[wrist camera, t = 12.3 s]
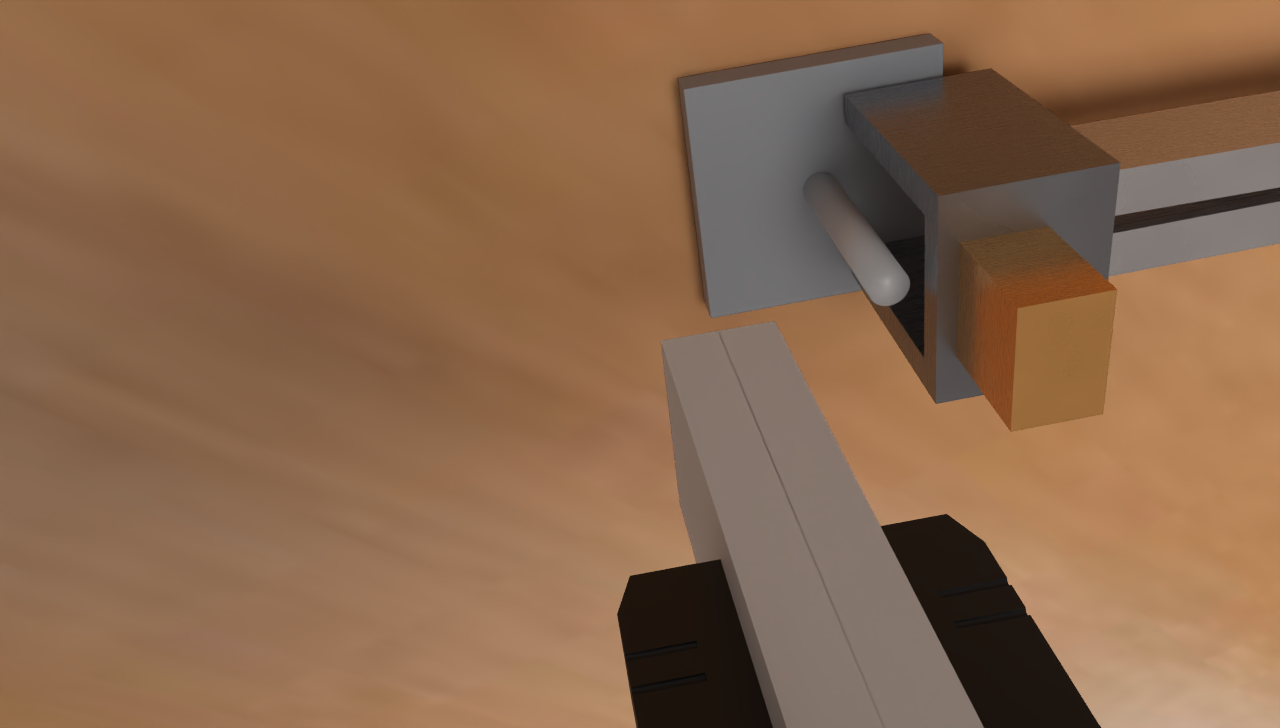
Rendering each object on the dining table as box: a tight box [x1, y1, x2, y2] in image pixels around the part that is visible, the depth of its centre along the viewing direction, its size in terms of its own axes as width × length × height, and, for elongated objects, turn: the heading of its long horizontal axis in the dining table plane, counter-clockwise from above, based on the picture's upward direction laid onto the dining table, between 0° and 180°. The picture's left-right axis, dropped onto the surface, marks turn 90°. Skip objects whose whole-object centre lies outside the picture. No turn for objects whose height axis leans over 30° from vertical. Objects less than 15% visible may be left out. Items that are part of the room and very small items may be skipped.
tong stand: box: [678, 33, 943, 318], centre depth 29 cm, size 24×16×7 cm, turn 98°
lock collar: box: [845, 68, 1121, 432], centre depth 26 cm, size 4×5×10 cm
